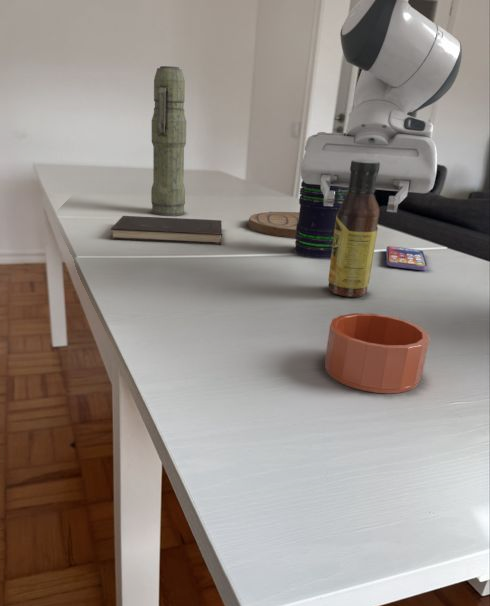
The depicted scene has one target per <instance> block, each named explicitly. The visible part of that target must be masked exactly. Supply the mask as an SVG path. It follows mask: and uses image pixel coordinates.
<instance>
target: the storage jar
mask: <svg viewBox="0 0 490 606" xmlns="http://www.w3.org/2000/svg"><path fill="white" fill-rule="evenodd" d="M301 180H302V181H301V183H300V189H299V199H298V204H299V222H298V224H297V227H296V231H297V232H296V235H295V238H294V239H295V241H294V244H295V247H294V253H295V254H297V255H299V256H302V257H306V258H313V259H323V260H324V259H325V260H326V259H327V260H328V259H330V260H331V254H332V246H333V238H334V231H335V223H336V215H337V213H338V211H339V209H340V207H341V205H342V203H343V200H344V198H345V196H346V194H347V192H348V187H341V186H330V189H329V190H330V191H335V201H334V205H333V206H324V195H323V193H322V191H321V185H317V184H306V183H305V182H304V181H303V179H301Z"/></svg>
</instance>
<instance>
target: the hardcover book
mask: <svg viewBox="0 0 490 606" xmlns="http://www.w3.org/2000/svg"><path fill="white" fill-rule="evenodd" d="M222 230H223V229H222V219H221V220H220V219H203V218H202V219H201V218H181V217H162V216H161V217H159V216H141V215H140V216H137V215H135V216H134V215H122V216H121V217H120V218H119V219H118V220H117V222H115V223H114V225H112V226H111V228H110V231H112V236H111V238H110V240H116V241H117V240H118V241H119V240H120V241H138V242H160V243H180V244H181V243H182V244H203V245H222V235H223V234H222Z"/></svg>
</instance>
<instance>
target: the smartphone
mask: <svg viewBox="0 0 490 606" xmlns="http://www.w3.org/2000/svg"><path fill="white" fill-rule="evenodd" d="M385 253H386V256H385V258H386V259H385V261H386V263H385V264H386V266H388V267H394V268H401V269H408V270H416V271H427V269H428V263H427V259H426V256H425V253H424V251H423V250H422V249H415V248H406V247H398V246H390V245H389V246H386V251H385Z"/></svg>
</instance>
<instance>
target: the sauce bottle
mask: <svg viewBox="0 0 490 606" xmlns="http://www.w3.org/2000/svg"><path fill="white" fill-rule="evenodd" d="M379 167H380V162H379V161H374V160H363V159H362V160H361V159H360V160H352V161H351V166H350V171H351V175H350V183H349V187H348V192H347V194H346V196H345V198H344V200H343V203H342V205H341V207H340V209H339V211H338V213H337V215H336V223H335V231H334V238H333V246H332V254H331V259H330V263H329V271H328V278H327V280H328V290H329V292H330V293H331V294H333V295H338V296H340V297H349V298H360V297H362V296H364V295H366V294H367V292H368V287H369V284H370V280H371V272H372V267H373V260H374V253H375V248H376V243H377V242H376V241H377V234H378V230H379V229H378V223H379V218H380V206H379V203H378V201H377V199H376V196H375V193H376V189H375V184H376V178H377V174H378V172H379Z"/></svg>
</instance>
